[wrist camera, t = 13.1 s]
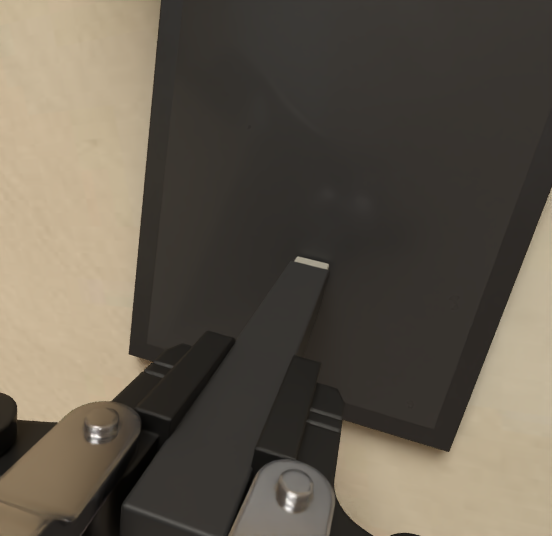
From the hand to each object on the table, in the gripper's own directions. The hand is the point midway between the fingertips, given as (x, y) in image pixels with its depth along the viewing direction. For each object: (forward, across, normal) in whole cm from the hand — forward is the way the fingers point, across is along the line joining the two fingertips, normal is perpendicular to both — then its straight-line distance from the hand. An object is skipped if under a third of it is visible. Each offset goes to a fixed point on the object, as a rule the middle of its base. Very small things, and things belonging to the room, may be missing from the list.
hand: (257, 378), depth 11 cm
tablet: (+9, 0, -5) cm, 10 cm away
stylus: (+8, 0, 0) cm, 8 cm away
